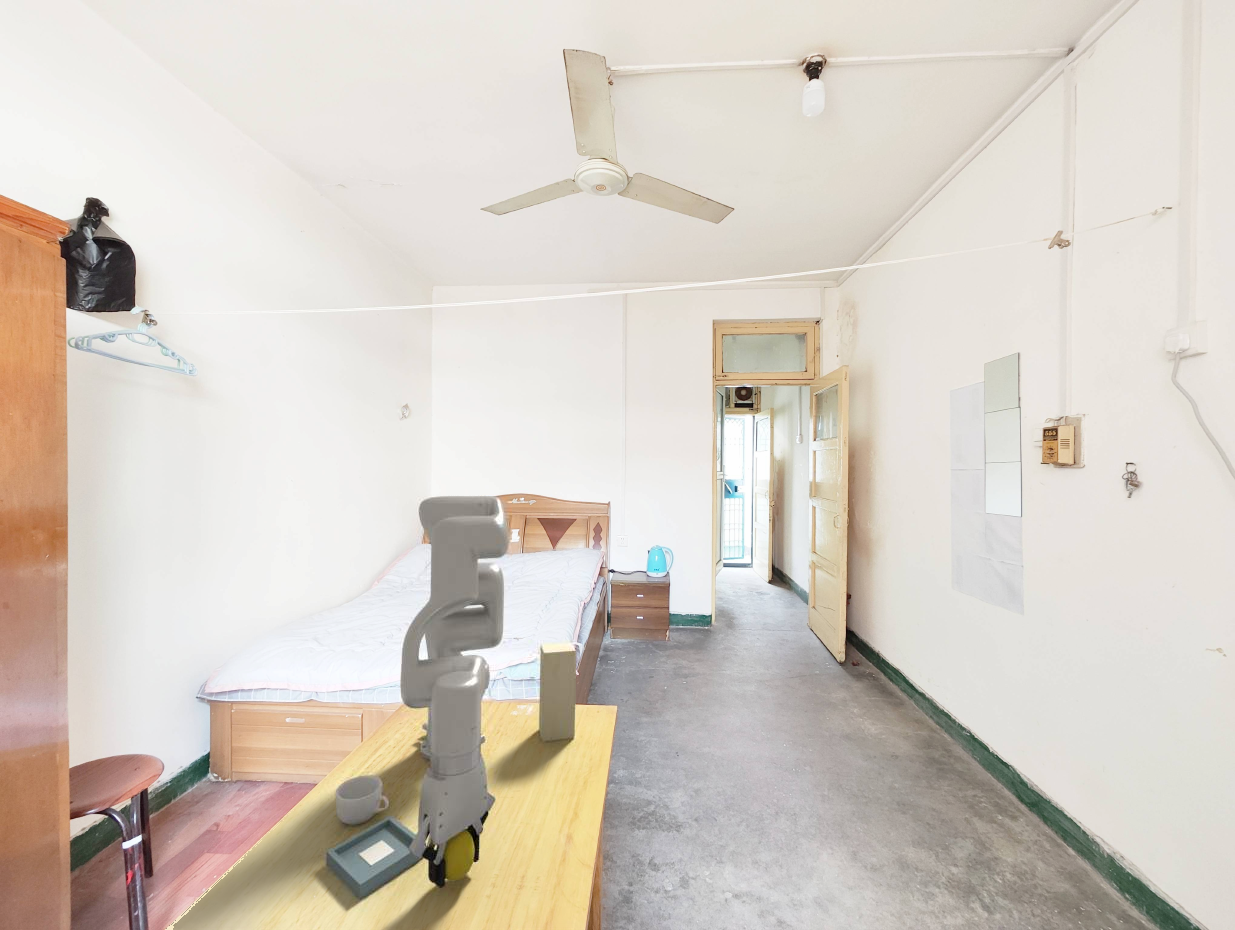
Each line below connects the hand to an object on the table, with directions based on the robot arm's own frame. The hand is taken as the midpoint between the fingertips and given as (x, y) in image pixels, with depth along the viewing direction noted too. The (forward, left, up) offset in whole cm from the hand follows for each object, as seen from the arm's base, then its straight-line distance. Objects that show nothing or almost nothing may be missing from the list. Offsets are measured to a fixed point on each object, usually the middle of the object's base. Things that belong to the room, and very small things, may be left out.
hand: (454, 868), depth 81 cm
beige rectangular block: (-19, +43, -2) cm, 47 cm away
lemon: (0, 0, -2) cm, 2 cm away
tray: (-14, -5, -2) cm, 15 cm away
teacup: (-26, -1, -2) cm, 26 cm away
